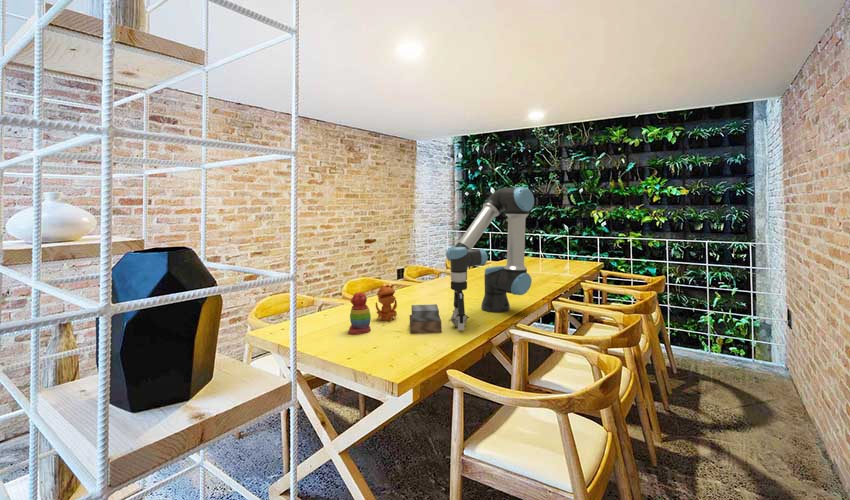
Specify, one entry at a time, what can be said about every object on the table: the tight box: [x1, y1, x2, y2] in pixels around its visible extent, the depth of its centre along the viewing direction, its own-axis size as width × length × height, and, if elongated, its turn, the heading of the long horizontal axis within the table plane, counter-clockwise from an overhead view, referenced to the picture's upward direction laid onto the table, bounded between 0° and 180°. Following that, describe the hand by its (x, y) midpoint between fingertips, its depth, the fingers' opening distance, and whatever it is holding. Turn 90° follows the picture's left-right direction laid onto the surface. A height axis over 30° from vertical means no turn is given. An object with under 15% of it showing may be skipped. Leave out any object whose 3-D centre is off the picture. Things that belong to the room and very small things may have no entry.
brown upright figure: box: [375, 284, 398, 322], centre depth 217 cm, size 11×11×18 cm
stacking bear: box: [347, 291, 372, 336], centre depth 199 cm, size 11×10×18 cm
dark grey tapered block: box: [409, 303, 442, 334], centre depth 201 cm, size 14×13×10 cm
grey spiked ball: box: [448, 310, 470, 329], centre depth 203 cm, size 9×8×10 cm
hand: (459, 325), depth 203 cm, fingers open, 13 cm apart
